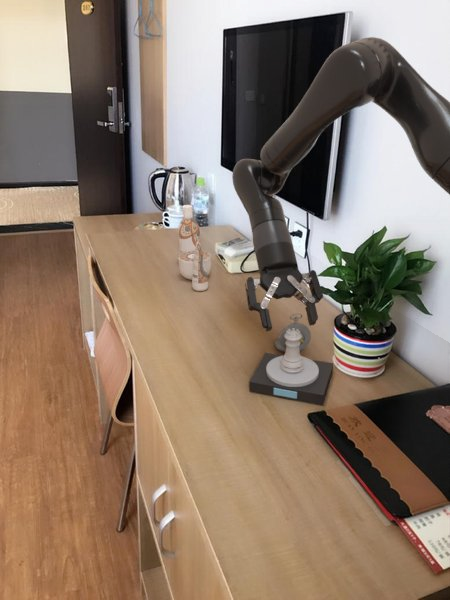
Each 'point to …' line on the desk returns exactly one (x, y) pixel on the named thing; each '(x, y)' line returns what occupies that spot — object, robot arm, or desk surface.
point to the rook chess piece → (292, 352)
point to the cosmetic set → (192, 252)
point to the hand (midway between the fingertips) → (291, 327)
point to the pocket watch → (301, 327)
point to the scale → (292, 380)
